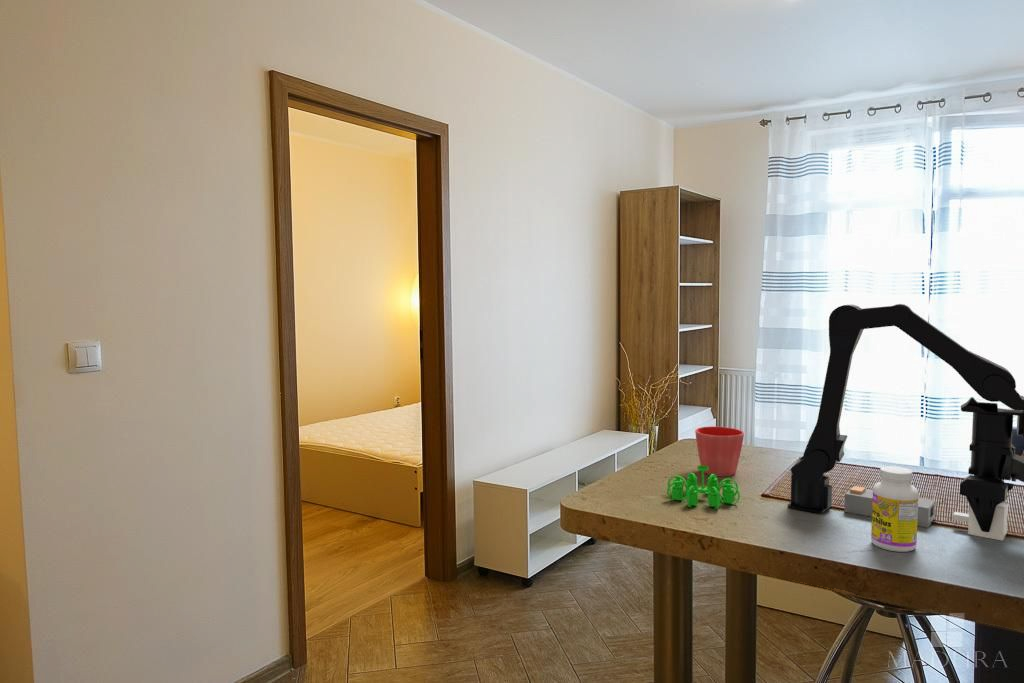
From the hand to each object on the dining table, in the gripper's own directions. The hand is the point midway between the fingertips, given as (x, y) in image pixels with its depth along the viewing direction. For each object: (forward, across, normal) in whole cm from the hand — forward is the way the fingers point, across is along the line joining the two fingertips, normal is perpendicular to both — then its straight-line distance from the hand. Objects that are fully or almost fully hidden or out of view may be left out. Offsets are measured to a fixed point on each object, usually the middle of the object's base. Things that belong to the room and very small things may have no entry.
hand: (987, 527), depth 122 cm
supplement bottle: (+1, -17, +11) cm, 20 cm away
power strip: (+1, 0, +16) cm, 16 cm away
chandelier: (+2, -13, +47) cm, 49 cm away
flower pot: (+1, +10, +54) cm, 54 cm away
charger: (+1, 0, +1) cm, 2 cm away
